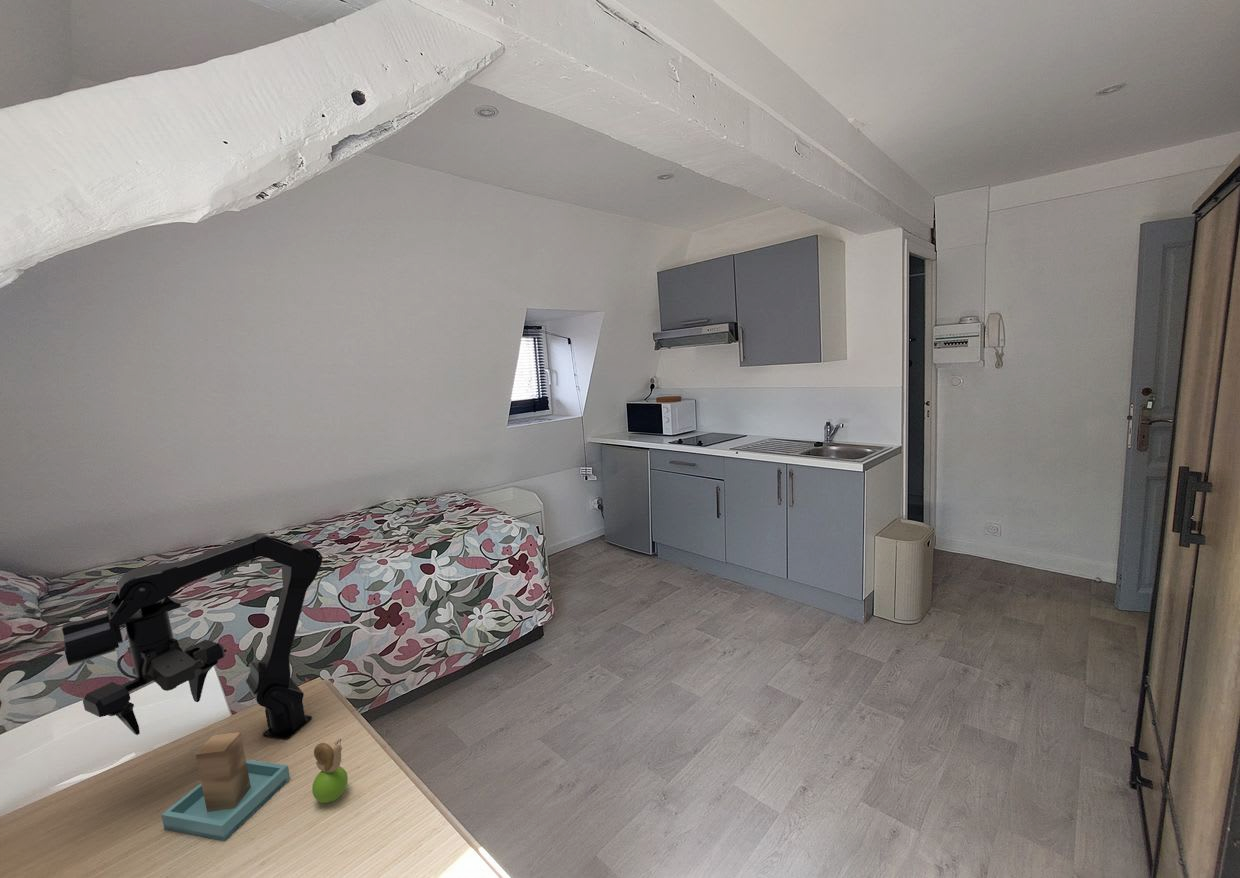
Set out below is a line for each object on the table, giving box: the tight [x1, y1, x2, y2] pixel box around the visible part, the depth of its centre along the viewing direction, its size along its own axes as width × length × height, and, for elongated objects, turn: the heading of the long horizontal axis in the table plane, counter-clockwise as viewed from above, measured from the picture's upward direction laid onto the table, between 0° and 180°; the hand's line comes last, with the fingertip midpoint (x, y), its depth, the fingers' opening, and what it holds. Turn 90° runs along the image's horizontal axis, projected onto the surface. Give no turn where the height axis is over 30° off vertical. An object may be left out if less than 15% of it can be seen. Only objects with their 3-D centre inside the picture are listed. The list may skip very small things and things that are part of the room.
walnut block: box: [195, 731, 251, 812], centre depth 90 cm, size 4×4×11 cm
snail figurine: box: [311, 737, 349, 804], centre depth 89 cm, size 5×6×12 cm
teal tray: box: [161, 759, 291, 842], centre depth 90 cm, size 13×13×3 cm
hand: (168, 717), depth 95 cm, fingers open, 9 cm apart
